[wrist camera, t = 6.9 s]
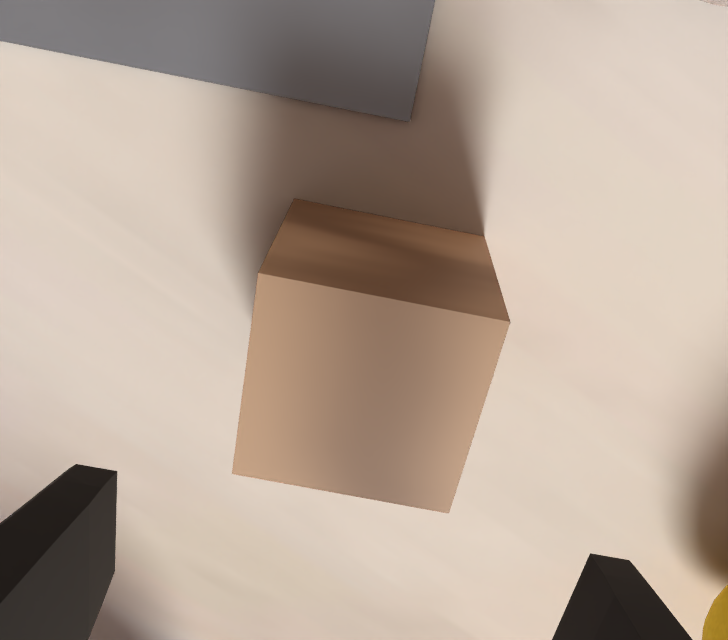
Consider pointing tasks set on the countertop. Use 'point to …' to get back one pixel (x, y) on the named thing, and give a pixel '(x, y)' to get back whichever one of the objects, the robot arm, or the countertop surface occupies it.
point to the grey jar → (717, 2)
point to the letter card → (246, 43)
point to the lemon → (717, 618)
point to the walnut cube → (369, 356)
